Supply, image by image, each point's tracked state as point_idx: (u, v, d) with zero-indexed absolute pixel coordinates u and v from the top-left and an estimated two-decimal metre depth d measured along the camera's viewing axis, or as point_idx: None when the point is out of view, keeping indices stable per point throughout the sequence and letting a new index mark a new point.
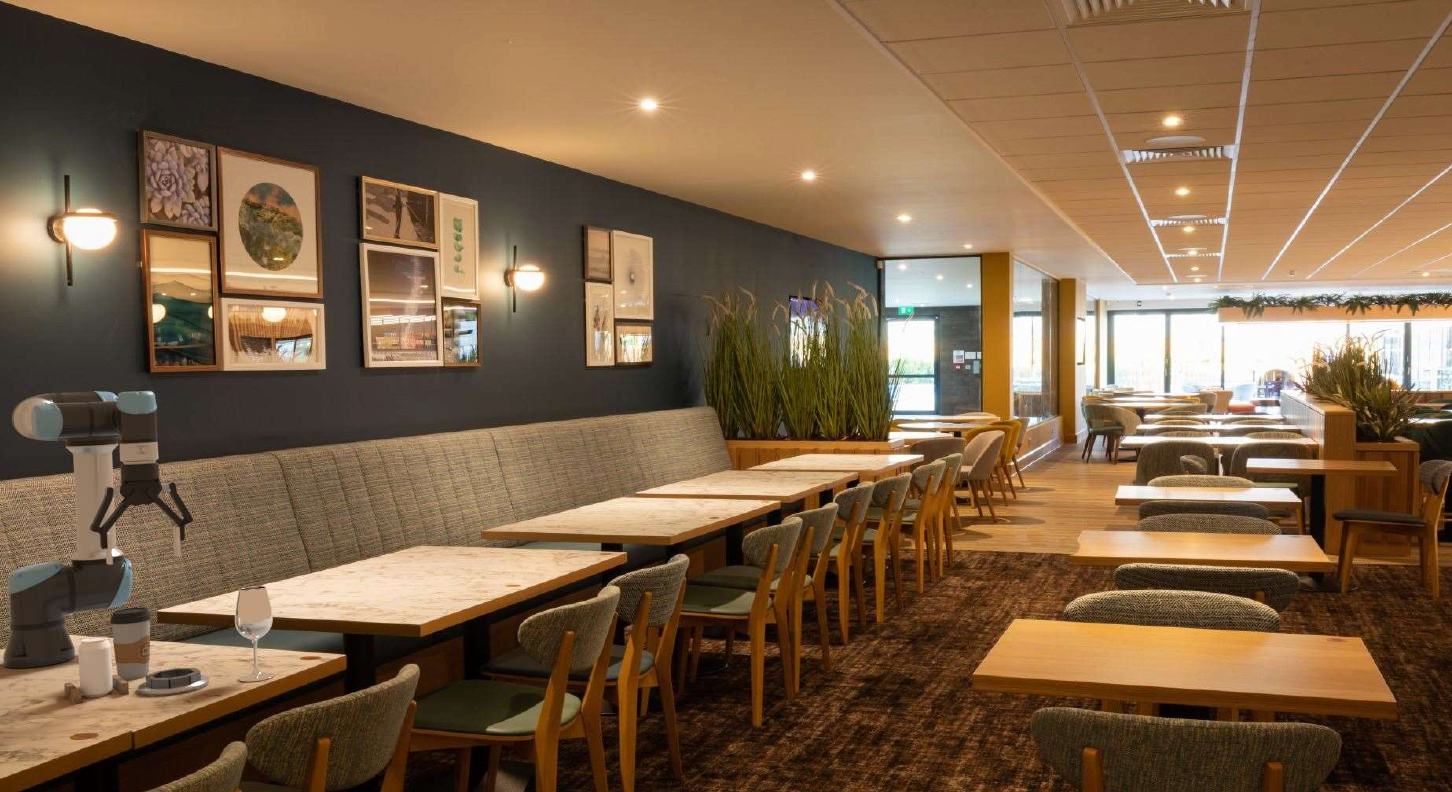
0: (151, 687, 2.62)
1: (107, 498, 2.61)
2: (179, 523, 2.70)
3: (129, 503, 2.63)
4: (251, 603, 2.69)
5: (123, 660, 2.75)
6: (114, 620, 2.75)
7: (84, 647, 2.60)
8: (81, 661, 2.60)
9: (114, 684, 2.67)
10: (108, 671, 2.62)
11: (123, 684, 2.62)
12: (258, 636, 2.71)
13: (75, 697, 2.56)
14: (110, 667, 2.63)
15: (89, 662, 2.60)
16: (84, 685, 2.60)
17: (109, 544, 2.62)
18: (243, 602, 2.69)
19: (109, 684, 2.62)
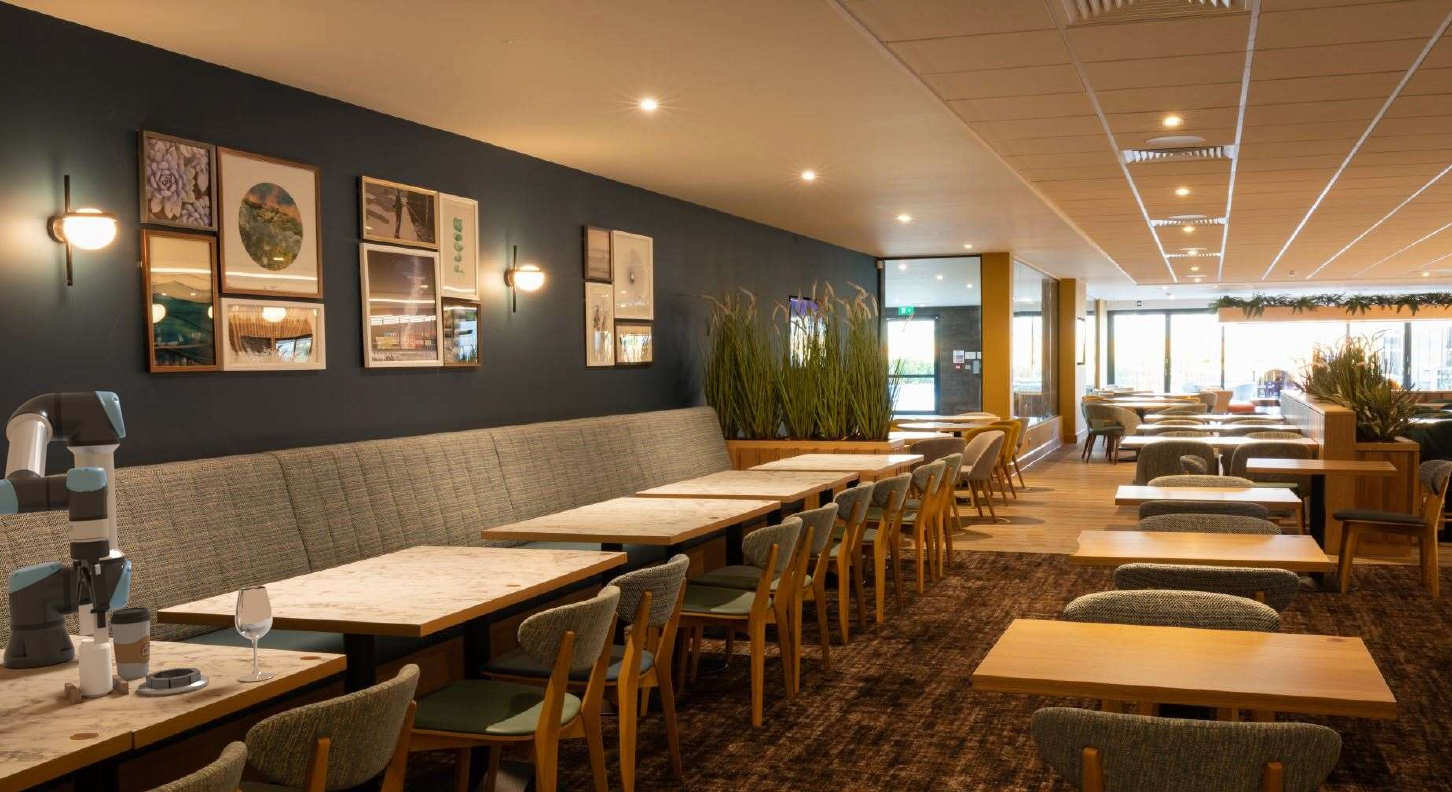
0: (151, 687, 2.62)
1: (77, 570, 2.67)
2: None
3: (79, 579, 2.63)
4: (251, 603, 2.69)
5: (123, 660, 2.75)
6: (114, 620, 2.75)
7: (84, 647, 2.60)
8: (81, 661, 2.60)
9: (114, 684, 2.67)
10: (108, 671, 2.62)
11: (123, 684, 2.62)
12: (258, 636, 2.71)
13: (75, 697, 2.56)
14: (110, 667, 2.63)
15: (89, 662, 2.60)
16: (84, 685, 2.60)
17: (79, 615, 2.67)
18: (243, 602, 2.69)
19: (109, 684, 2.62)
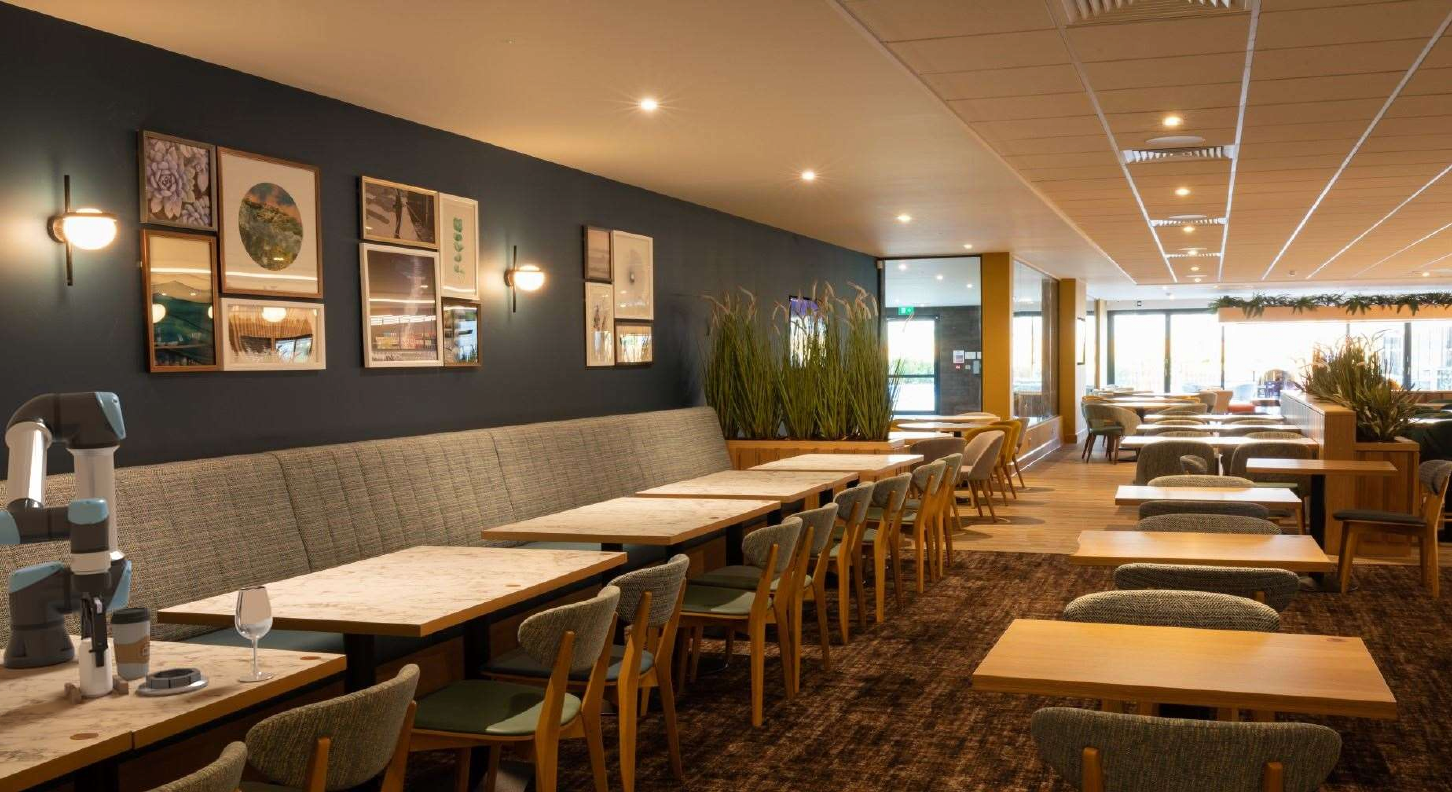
0: (151, 687, 2.62)
1: (80, 608, 2.66)
2: (92, 648, 2.59)
3: (82, 613, 2.63)
4: (251, 603, 2.69)
5: (123, 660, 2.75)
6: (114, 620, 2.75)
7: (84, 647, 2.60)
8: (81, 661, 2.60)
9: (114, 684, 2.67)
10: (108, 671, 2.62)
11: (123, 684, 2.62)
12: (258, 636, 2.71)
13: (75, 697, 2.56)
14: (110, 667, 2.63)
15: (89, 662, 2.60)
16: (84, 685, 2.60)
17: None
18: (243, 602, 2.69)
19: (109, 684, 2.62)
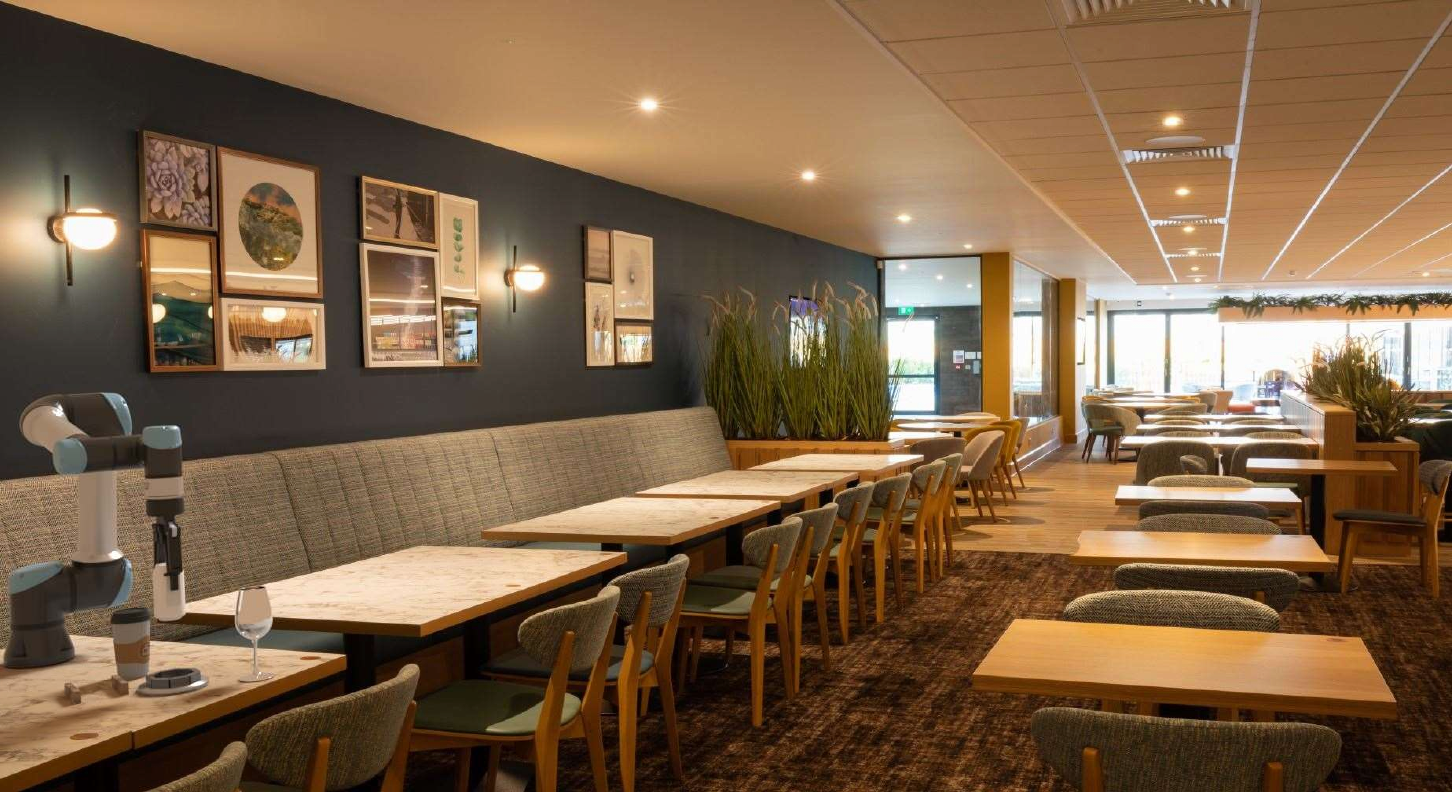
0: (151, 687, 2.62)
1: (153, 534, 2.70)
2: (167, 571, 2.62)
3: (155, 538, 2.66)
4: (251, 603, 2.69)
5: (123, 660, 2.75)
6: (114, 620, 2.75)
7: (158, 571, 2.63)
8: (156, 584, 2.63)
9: (114, 684, 2.67)
10: (181, 595, 2.66)
11: (123, 684, 2.62)
12: (258, 636, 2.71)
13: (75, 697, 2.56)
14: (183, 592, 2.67)
15: (163, 585, 2.63)
16: (159, 609, 2.63)
17: None
18: (243, 602, 2.69)
19: (182, 608, 2.66)
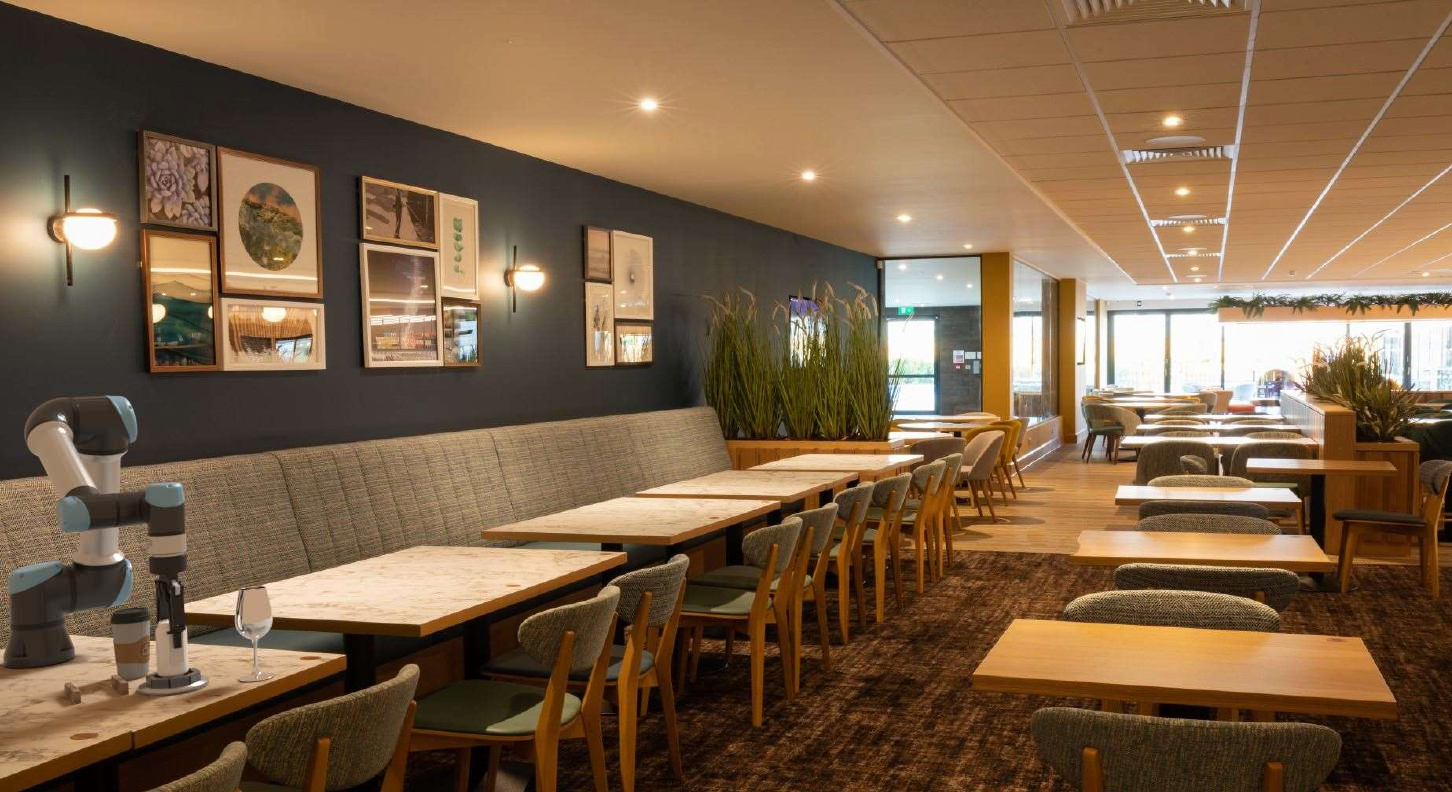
0: (151, 687, 2.62)
1: None
2: (170, 629, 2.63)
3: (158, 595, 2.67)
4: (251, 603, 2.69)
5: (123, 660, 2.75)
6: (114, 620, 2.75)
7: (162, 628, 2.64)
8: (159, 642, 2.64)
9: (114, 684, 2.67)
10: (184, 652, 2.66)
11: (123, 684, 2.62)
12: (258, 636, 2.71)
13: (75, 697, 2.56)
14: (186, 648, 2.67)
15: (166, 643, 2.64)
16: (162, 666, 2.64)
17: None
18: (243, 602, 2.69)
19: (185, 665, 2.66)
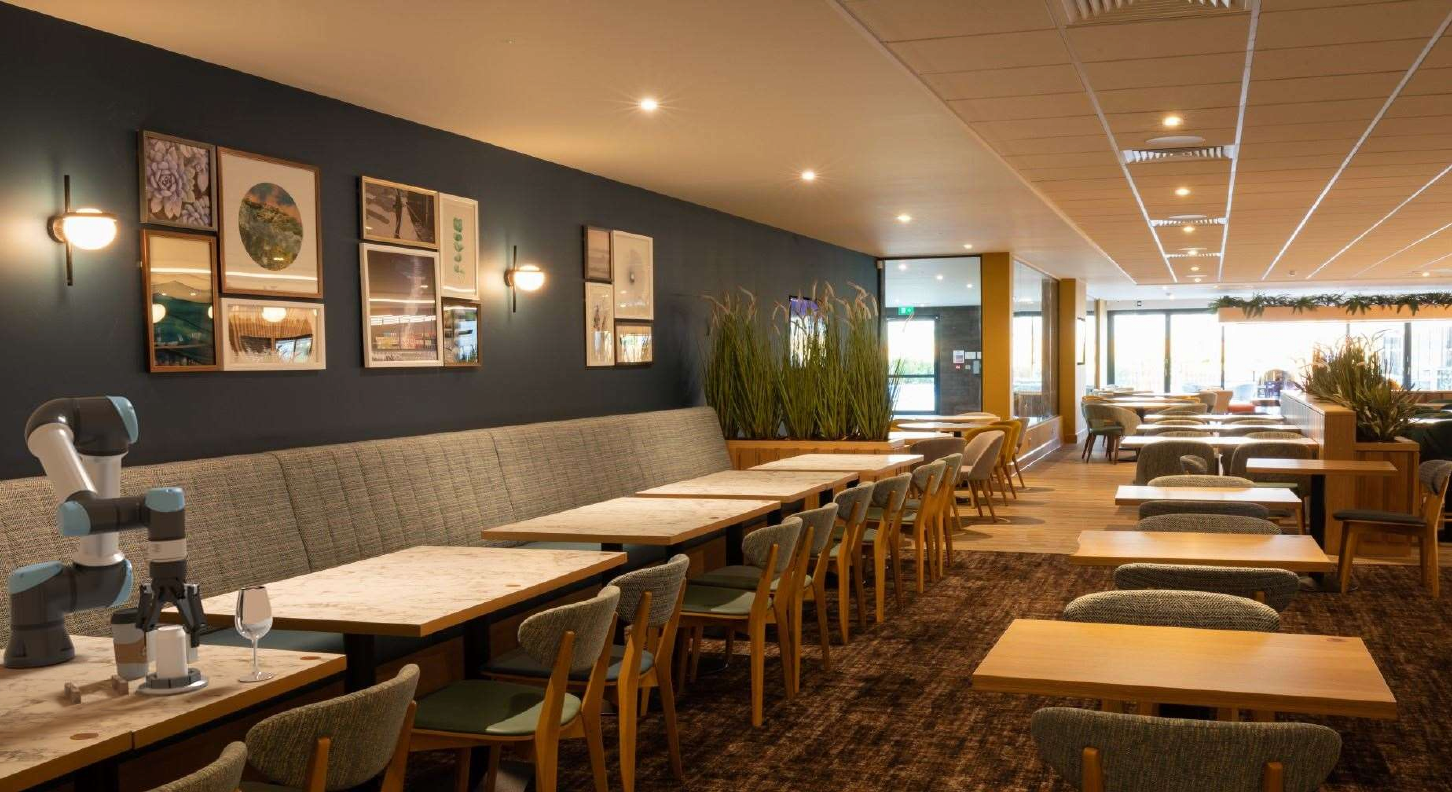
0: (151, 687, 2.62)
1: (140, 595, 2.67)
2: (188, 629, 2.64)
3: (155, 600, 2.65)
4: (251, 603, 2.69)
5: (123, 660, 2.75)
6: (114, 620, 2.75)
7: (169, 635, 2.64)
8: (166, 649, 2.64)
9: (114, 684, 2.67)
10: None
11: (123, 684, 2.62)
12: (258, 636, 2.71)
13: (75, 697, 2.56)
14: None
15: (175, 649, 2.64)
16: (170, 673, 2.64)
17: (147, 642, 2.67)
18: (243, 602, 2.69)
19: (187, 670, 2.68)
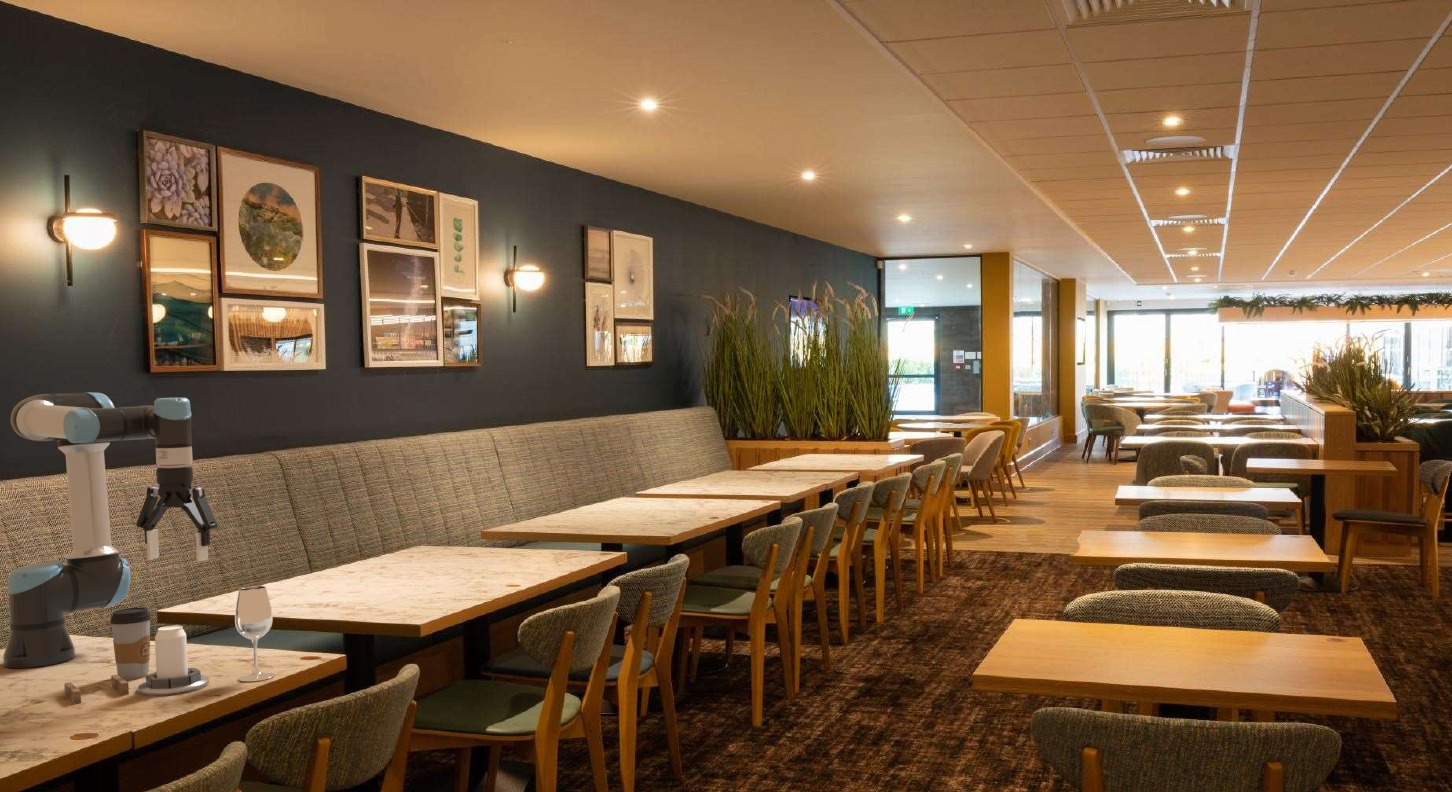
0: (151, 687, 2.62)
1: (146, 497, 2.78)
2: (199, 529, 2.75)
3: (160, 504, 2.77)
4: (251, 603, 2.69)
5: (123, 660, 2.75)
6: (114, 620, 2.75)
7: (169, 635, 2.64)
8: (166, 649, 2.64)
9: (114, 684, 2.67)
10: None
11: (123, 684, 2.62)
12: (258, 636, 2.71)
13: (75, 697, 2.56)
14: None
15: (175, 649, 2.64)
16: (170, 673, 2.64)
17: (147, 540, 2.79)
18: (243, 602, 2.69)
19: (187, 670, 2.68)
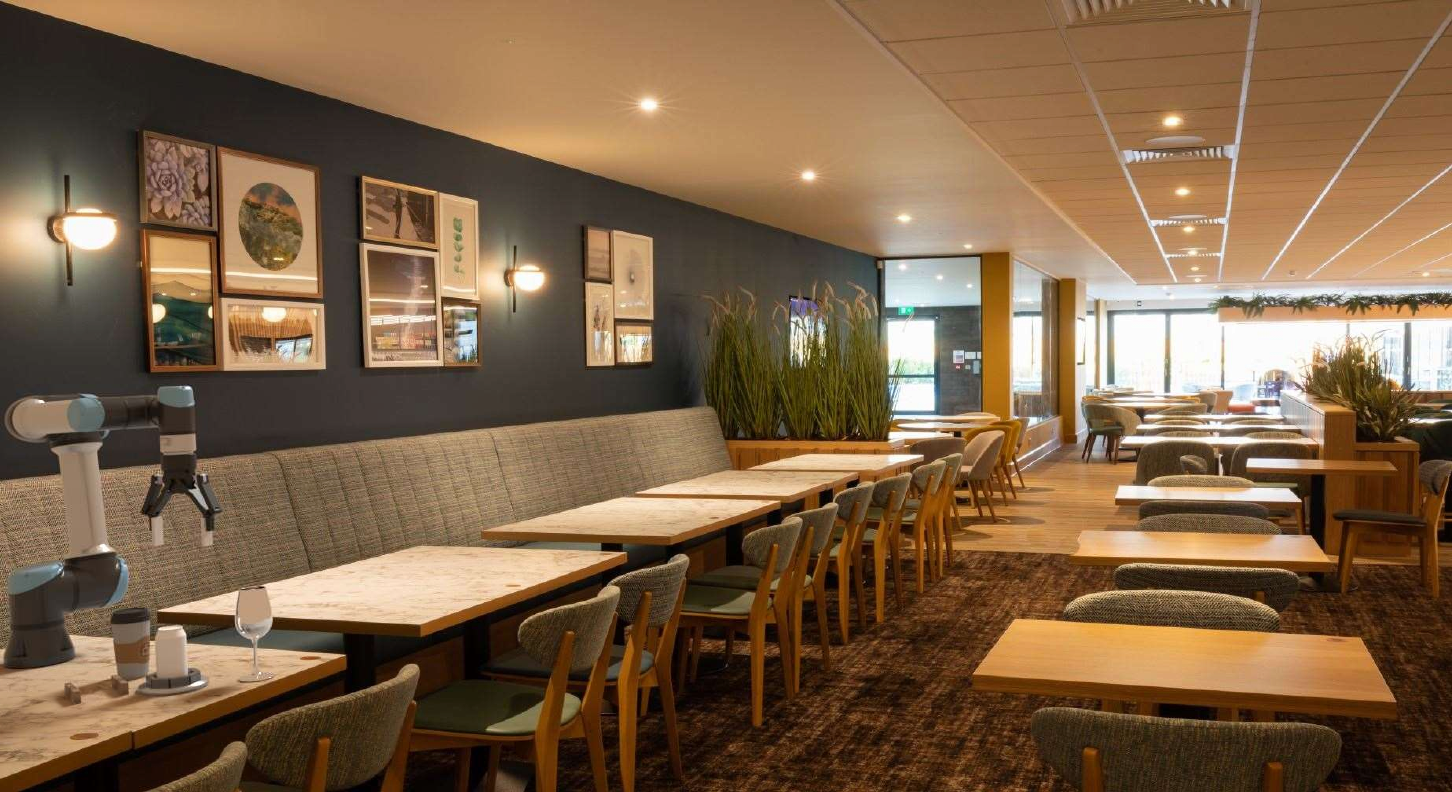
0: (151, 687, 2.62)
1: (151, 485, 2.83)
2: (204, 514, 2.79)
3: (164, 491, 2.81)
4: (251, 603, 2.69)
5: (123, 660, 2.75)
6: (114, 620, 2.75)
7: (169, 635, 2.64)
8: (166, 649, 2.64)
9: (114, 684, 2.67)
10: None
11: (123, 684, 2.62)
12: (258, 636, 2.71)
13: (75, 697, 2.56)
14: None
15: (175, 649, 2.64)
16: (170, 673, 2.64)
17: (152, 527, 2.83)
18: (243, 602, 2.69)
19: (187, 670, 2.68)
